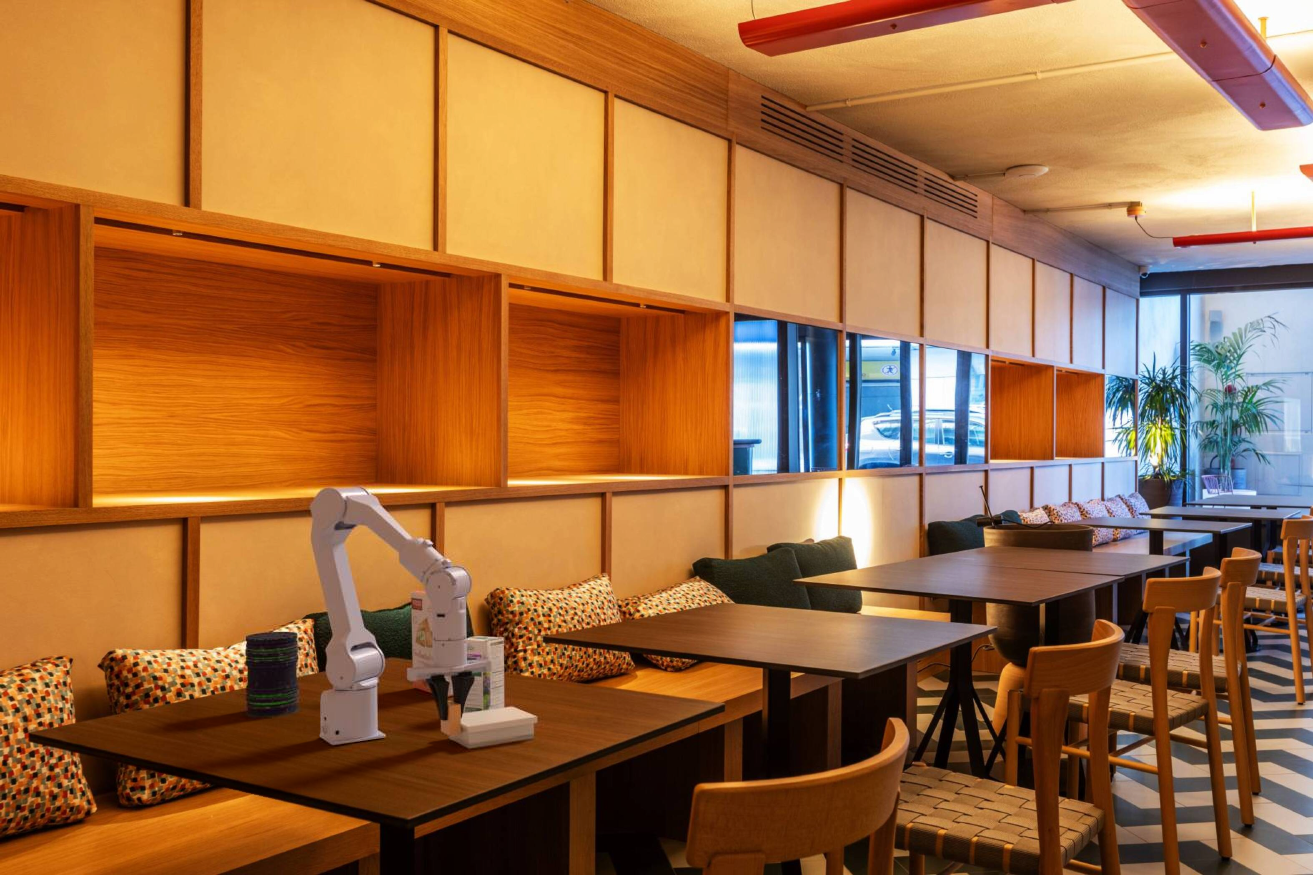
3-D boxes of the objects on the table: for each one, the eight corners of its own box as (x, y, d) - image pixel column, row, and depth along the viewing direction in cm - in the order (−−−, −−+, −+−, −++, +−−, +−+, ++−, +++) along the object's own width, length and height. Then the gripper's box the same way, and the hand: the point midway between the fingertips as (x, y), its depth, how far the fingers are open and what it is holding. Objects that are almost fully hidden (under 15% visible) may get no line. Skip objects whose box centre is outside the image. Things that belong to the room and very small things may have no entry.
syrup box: (463, 715, 217) (461, 638, 217) (481, 709, 222) (480, 634, 222) (487, 718, 214) (486, 640, 214) (505, 711, 219) (504, 636, 220)
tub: (469, 748, 191) (468, 730, 191) (448, 738, 199) (448, 720, 199) (533, 738, 197) (533, 720, 198) (511, 728, 205) (511, 711, 205)
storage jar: (235, 716, 220) (234, 638, 220) (264, 705, 229) (263, 631, 230) (281, 718, 217) (280, 639, 218) (308, 707, 227) (308, 631, 227)
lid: (456, 739, 189) (456, 709, 189) (434, 727, 198) (433, 698, 198) (537, 726, 197) (536, 697, 197) (512, 716, 206) (511, 688, 206)
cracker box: (410, 688, 244) (409, 590, 245) (436, 684, 248) (435, 588, 248) (442, 698, 233) (440, 595, 234) (468, 694, 237) (466, 593, 237)
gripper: (417, 645, 187) (418, 728, 187) (498, 636, 195) (499, 716, 195) (402, 640, 193) (403, 720, 193) (481, 632, 201) (483, 709, 201)
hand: (450, 718), depth 194 cm, fingers closed on lid, 2 cm apart
